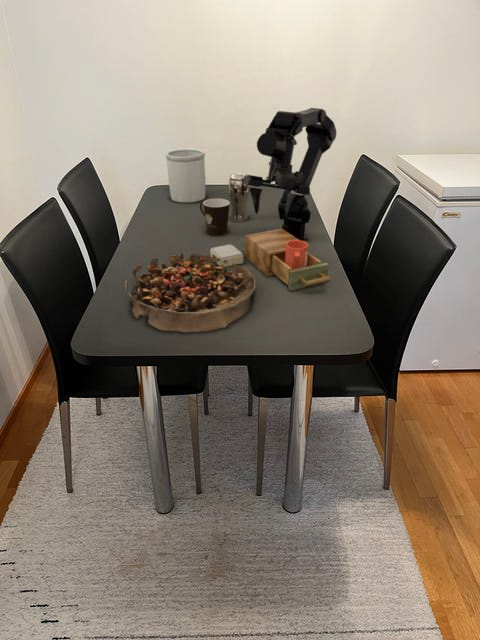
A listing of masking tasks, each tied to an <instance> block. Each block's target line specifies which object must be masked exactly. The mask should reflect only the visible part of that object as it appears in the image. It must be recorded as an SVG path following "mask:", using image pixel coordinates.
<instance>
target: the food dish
mask: <svg viewBox="0 0 480 640" xmlns="http://www.w3.org/2000/svg"><path fill="white" fill-rule="evenodd" d="M167 260H168V262H170V263H171V266H167V265H166V263H164V262H162V263H161V266H160V268H158V262H159V259H158V258H153V259H151V260H150V263H149V266H147V271H148V273H141V274H140V276H139V279H137V272H140V270H141V269H142V268H143V264H141V263H140V264H138V265H136V266H134V268H133V269H132V271H131V272H132V273H131V274H132V276H133V278H134V281H135V284H134V287H133V288H134V290H133V293H134V295H132V293H131V292H129V291H128V289H129V288H128V287H129V283H128V280H127V279H125V280H124V284H125V285H124V286H125V290H126V292H127V294H128V296H129V297H130V298H131V301H132V306H133V308H132V309H131V311H132V313H133V317H135V319H137V320H138V319H139V318H140V316H147V317H148V320H147V322H148V325H150V326H151V327H153V328H156V329H158V330H160V331H164V332H175V331H176V332H179V333H191V332H192V333H193V332H197V333H198V332H209V331H214V330H219V329H224V328H226V327H227V326H228V325H229V324H231V323H233V322H234V321H236V320H238V319H239V318H241V317H242V316H243V315H245V314H246V313H247V312H248V311H249V310H250V304H251V303H252V296H253V294H254V292H255V290H256V288H257V287H256V284H257V282H256V279H255V277H254V275H253V274H252V272H251V271H250V270H248V269H246V268H245V267H244V266H240V265H239V264H233V263H232V264H233V265H232V266H233V267H232V268H233V270H235V271H236V273H235V272H234V271H230V270H229V271H228V270H227V268H226V267H224V266H223V265H222V266H221V267H220V266H219V265H218V264H217V265H215V266H213V265H212V264H214V263H216V262H218V261H220V260H221V259H220V258H215V257H211V256H208V255H202V254H201V255H200V254H197V253H191V254H190V256H189V258H187V259H186V258H185V257H184V253H183V252H180V254H179V255H176V254H175V255H169V256H168V257H167ZM206 262H209V263H206ZM223 262H224V263H227V262H228V261H227V260H224V261H223ZM210 263H212V264H210Z"/></svg>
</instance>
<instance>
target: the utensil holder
mask: <svg viewBox="0 0 480 640" xmlns="http://www.w3.org/2000/svg"><path fill="white" fill-rule="evenodd" d="M205 156H206V152H205V150H204V149H201V148H198V147H179V148H173V149H169V150H167V151H166V152H165V158H166V165H167V166H166V167H167V175H168V185H169V194H170V199H171V200H172V201H173V202H177V203H182V204H183V203H184V204H187V203H188V204H189V203H196V202H202V201H203V200H205V198H206V196H207V195H206V162H205Z"/></svg>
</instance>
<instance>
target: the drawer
mask: <svg viewBox="0 0 480 640" xmlns="http://www.w3.org/2000/svg"><path fill="white" fill-rule="evenodd" d="M285 254H286V252H284V253H279V254H274V255H271V261H270V271H271V272H273V273H274V274H275V275H274V276H276V277H277V278H278V279H280V280H281V281H282V282H283V283H284V284H286V285H287V286H288V290H289V291H294V290H298V289H302V288H309V287H312V286H315V285H320V284H323V283H328V282H330V281H331V277H330V276H329V275H328V273H329V263H328V262H322V261H321V260H320V259H318V258H317V257H315V256H314V255H313V254H311V253H309V252H308V255H307V267H303V268H299V269H294V270H291V269H292V268H291V267H289V266H288V265H287V264H285Z"/></svg>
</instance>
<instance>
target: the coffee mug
mask: <svg viewBox="0 0 480 640" xmlns="http://www.w3.org/2000/svg"><path fill="white" fill-rule="evenodd" d="M230 206H231V201H230V200H228V199H225V198H209V199H205V200H204V201H201V202H200V204H199V209H200V212H201V213H202V215H203V217H204V218H205V225H206V232H207V234H208V235H210V236H215V237H219V236H224V235H227V232H228V224H229V216H230V215H229V214H230ZM202 207H203V208H202Z"/></svg>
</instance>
